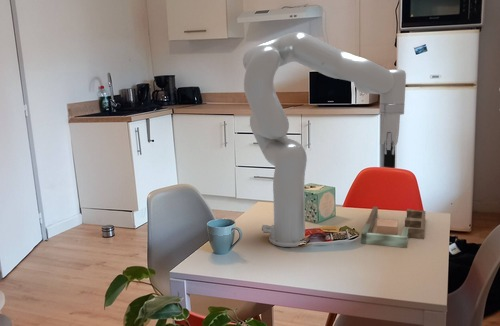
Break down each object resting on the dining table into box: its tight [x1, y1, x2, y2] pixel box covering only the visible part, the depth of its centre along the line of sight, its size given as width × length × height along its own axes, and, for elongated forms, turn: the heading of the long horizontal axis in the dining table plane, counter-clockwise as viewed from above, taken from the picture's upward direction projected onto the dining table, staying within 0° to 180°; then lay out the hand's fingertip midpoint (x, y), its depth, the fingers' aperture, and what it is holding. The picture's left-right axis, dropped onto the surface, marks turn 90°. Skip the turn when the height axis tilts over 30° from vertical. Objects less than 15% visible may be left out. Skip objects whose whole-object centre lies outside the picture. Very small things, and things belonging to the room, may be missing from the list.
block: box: [376, 218, 399, 235], centre depth 150 cm, size 6×7×5 cm
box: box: [360, 206, 426, 248], centre depth 157 cm, size 18×30×3 cm, turn 159°
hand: (389, 166), depth 157 cm, fingers closed
